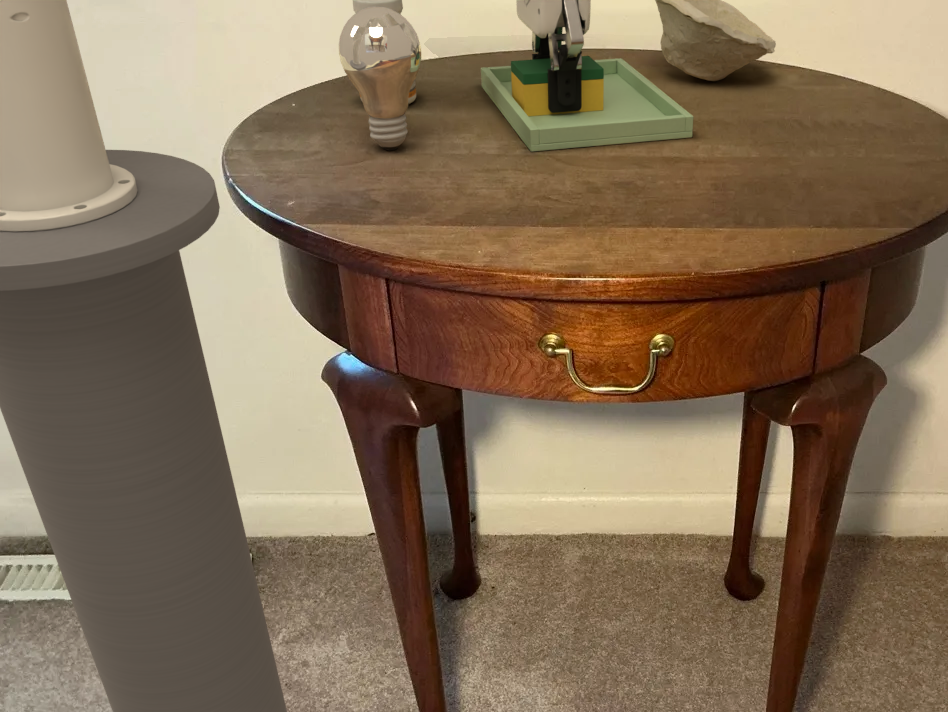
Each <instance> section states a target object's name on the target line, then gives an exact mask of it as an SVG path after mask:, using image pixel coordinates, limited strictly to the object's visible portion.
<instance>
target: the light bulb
mask: <svg viewBox="0 0 948 712" xmlns="http://www.w3.org/2000/svg"><path fill="white" fill-rule="evenodd" d="M338 57H339V61H340V64H341V66H342V69H343V71H344V73H345V75H346V77H348V79H349V80H350V82H351V83H352V84H353V86H354V87H355V89H356V90H357V91H358V93H360V94H359V96H360V95H361V98H362V101H361V103H362V105H363V109H364V111H365V112H366V114H367V115H368V116H369V118H368V124H369V126H368V129H369V131H370V133H369V136H370V137H369V138H371V139H372V140H373V141H374V142H375V143H376V144H377V145H379V146H380V147H381V148H382V149H383V150H385V151H395V150H397V149H398V147H399V146H401V144H402V143H403V142H404V141H405V140H406V139H407V134H408V129H407V127H408V123H407V122H406V121H407V116H406V112H407V110H408V107H409V104H408V97H409V92H410V88H411V86H412V84H413V82H414V80H415V81H416V78H417V76H418V73H419V71H420V68H421V64H422V63H421V62H422V45H421V41H420V39H419V36H418V33H417V32H416V30H415V28H414V26H413V24H411V23H410V22H409V20H408V19H407V18H406V17H404V16H403V15H402V14H401V15H400V14H399V13H397V12H395V11H393V10H391V9H389V8H385V7H369V8H365V9H362V10H360V11H359V12H357V13H354V14H353V15H352V16H351V17H349V19H348V20H347V21H346V22H345V24H344V25H343V28H342V29H341V33H340V35H339V40H338Z"/></svg>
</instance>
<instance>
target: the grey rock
mask: <svg viewBox="0 0 948 712" xmlns="http://www.w3.org/2000/svg"><path fill="white" fill-rule="evenodd" d="M654 1H655V3H656V6H657V11H658V13H659V18H660V21H661V24H662V25H661V26H662V34H661V39H660V49H661V52H662V55H663V57H664V59H665V61H667V63H668V64H670V65H672V66H673V67H675V68H676V69H679V70H680V71H682V72H683V73H685V74H687V75H689V76H692V77H694V78H698V79H701V80H706V81H710V82H716V81H720V80H723V79H725V78H726V77H727V76H729V75H730V74H733V73H735V72H736V71H737V70H740V69H741V68H742V67H745V66H747V65H749V64H750V63H751V62H754V61H756V60H757V61H758V60H759V59H760V58H762V57H764V56H766V55H767V54H773V53H775V52H776V50H775V48H776V46H777V44H776V40H775V39H773V37H771V36H770V35H768V34H767V33H766V32H765V31H764V30H763V29H762V28H761V27H760V26H759V25H758V24H756V23H755V22H754V21H752V20H750V19H749V18H748V17H747V16H746V15H745V14H744V13H742V11H740V10H739V9H738V8H737V7H735V6H733V5H732V4H731V3H728V2H727V1H725V0H654Z"/></svg>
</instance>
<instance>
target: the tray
mask: <svg viewBox="0 0 948 712" xmlns="http://www.w3.org/2000/svg"><path fill="white" fill-rule="evenodd" d="M593 60H594V61H595V62H597V63H598V64H599V65H600V66H601V67H602V68H604V94H603V110H600V111H588V112H576V113H564V114H552V115H540V116H528V115H527V114H526V113H525V112H524V111H523V109H522V108H521V107H520V106H519V105H518V103H517V102H516V101H515V100H514V98H513V97H512V80H511V72H512V71H511V65H503V66H502V65H501V66H500V65H499V66H489V67H488V66H485V67H480V81H481V89H483V91H485V93H486V94H487V96H488V97H489V99H491V101H492V102H493V103H494V105H495V106H496V108H497V109H498V110H499V112H501V114H502V115H503V117H504V118H505V120H506V121H507V122H508V124H509V125H510V126H511V127H512V129H513V130H514V131H515V133H516V134H517V135H518V137H519V138H520V139H521V141H522V142H523V143H524V144H525V146H526V147H527V148H528V150H529V151H530V152H531V153H532V152H542V151H543V152H544V151H556V150H565V149H566V150H567V149H576V148H577V149H578V148H587V147H589V148H590V147H599V146H610V145H611V146H612V145H620V144H621V145H622V144H632V143H633V144H634V143H643V142H645V143H646V142H655V141H656V142H657V141H666V140H678V139H688V138H689V139H690V138H693V130H694V115H693V114H692V113H690V112H689V111H687V110H686V109H685V108H684V107H683V106H681V104H679V103H677V101H675V100H674V99H673V98H671V97H670V96H669V95H668V94H666V93H665V92H664V91H663V90H661V89H660V88H659V87H658V86H657V85H655V83H653V82H652V81H651V80H649V79H648V78H647V77H646V76H644V75H643V74H641V73H640V72H639V71H638V70H637V69H635V68H634V67H633V66H632V65H631V64H629V62H627V61H625V59H623V58H622V57H621V58H620V57H619V58H607V59H605V58H604V59H593Z"/></svg>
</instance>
